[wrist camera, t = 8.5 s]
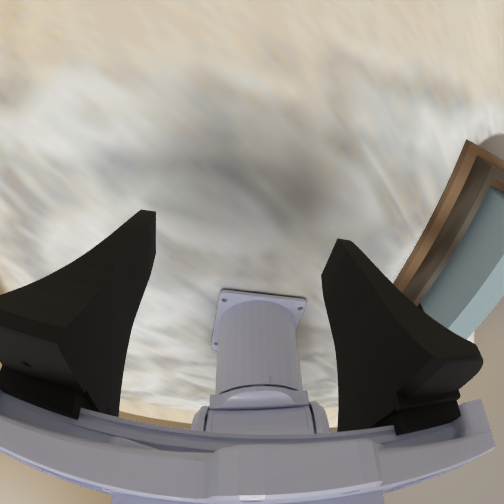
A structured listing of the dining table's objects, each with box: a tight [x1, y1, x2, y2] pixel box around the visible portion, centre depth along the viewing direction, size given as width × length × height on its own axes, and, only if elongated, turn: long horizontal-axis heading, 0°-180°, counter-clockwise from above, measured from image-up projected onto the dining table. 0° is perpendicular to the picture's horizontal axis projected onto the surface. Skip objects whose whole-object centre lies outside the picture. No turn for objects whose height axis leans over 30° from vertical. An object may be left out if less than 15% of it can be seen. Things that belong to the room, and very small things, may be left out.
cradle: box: [393, 140, 504, 311], centre depth 23 cm, size 18×10×3 cm, turn 169°
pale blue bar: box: [420, 185, 504, 339], centre depth 21 cm, size 13×4×6 cm, turn 169°
